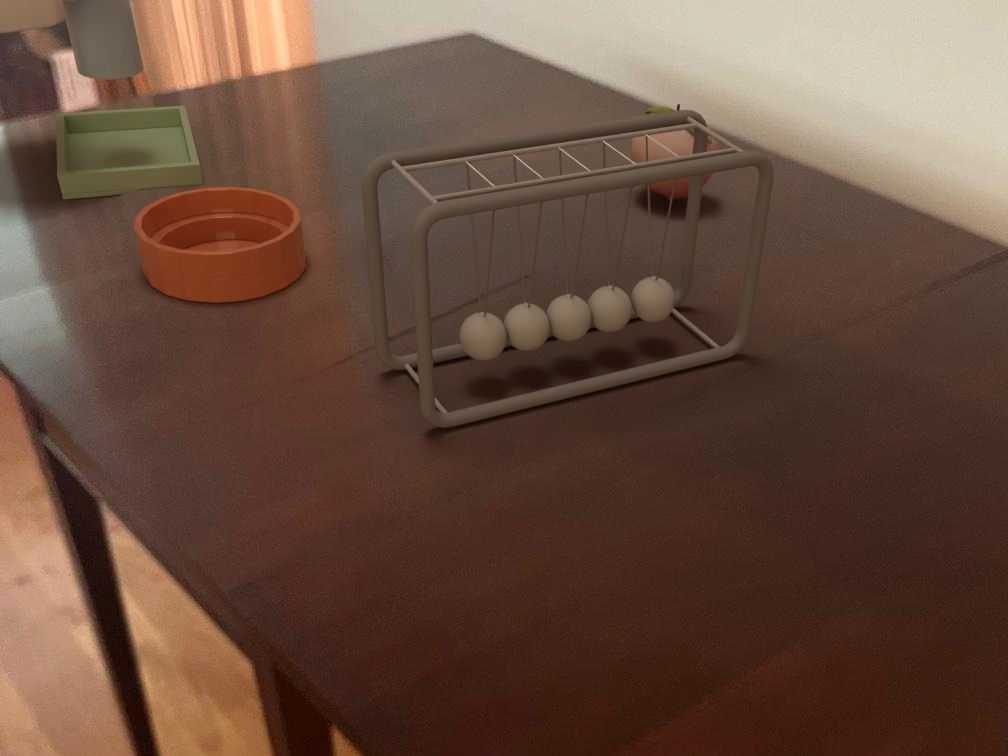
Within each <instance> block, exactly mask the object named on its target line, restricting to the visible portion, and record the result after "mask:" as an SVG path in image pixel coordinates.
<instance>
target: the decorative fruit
mask: <svg viewBox="0 0 1008 756" xmlns="http://www.w3.org/2000/svg"><path fill="white" fill-rule="evenodd" d="M679 110H681V104H680V103H678V104H676V110H675V109H673V108H671V107H669V106H663V105H662V106H661V105H660V106H651V107H649V108H648V109H646V111H645V112H644V114H645V115H650V114H652V113H653V114H659V113H666V112H672V111H679ZM707 128H708V129H710V130H711V131H712V129H711V128H710V127H709V126H708V125H707ZM648 136H649V137H651V138H652V139H654V140H655V141H657V142H658V143H660V144H661V145H663V146H664V147H666V148H667V149H669V150H670V151H672V152H673V153H675V154H676V155H678V156H685V155H691V154H693V145H694V129H686V130H680V131H673V132H667V133H660V134H653V135H648ZM649 137H647V138H648V161H654V160H660V159H666V158H673V157H677V156H675V155H674V154H672V153H671V152H669V151H668V150H666V149H665V148H663V147H662V146H661V145H659V144H658V143H656V142H655V141H653V140H652V139H650V138H649ZM631 139H632V140H631V144H630V156H631V157H630V158H631V161H633V162H634V163H635V164H636V163H642V162H646V138H645V136H640V137H634V138H631ZM716 150H720V149H719V144H718V141H717V140H716V139H714V138H712V137H711V136H709V135H708V141H707V150H706V152H710V151H716ZM713 157H714V156H713ZM707 158H708V157H707ZM676 163H677V162H676ZM670 164H671V163H670ZM664 165H665V164H664ZM658 166H659V165H658ZM652 167H653V166H652ZM646 168H647V167H646ZM640 169H641V168H640ZM713 175H714V173H708V174H704V176H703V185H702V188H703V187H704V186H705V185H706V184H707V183H708V182H709V181H710V179H711V178H712V177H713ZM689 182H690V177H685V178H679V179H676V184H675V190H674V195H673V199H674V200H679V199H682V198H686V197H688V192H689ZM673 184H674V179H673V180H667V181H661V182H656V183H650V184H649V188H650V191H652V192H654V193H657V194H658V195H660V196H662V197H664V198H666V199H667V198H670V199H671V195H672V189H673ZM644 186H645V187H647V184H644Z"/></svg>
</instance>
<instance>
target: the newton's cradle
mask: <svg viewBox="0 0 1008 756" xmlns="http://www.w3.org/2000/svg"><path fill="white" fill-rule="evenodd" d="M707 126H708V125H707V122H706V119H705V118H704V117H703V116H702V115H701V113H699V112H698V111H695V110H693V109H680V110H679V111H677V110H675V111H672V112H666V113H659V114H657V113H653V114H652V113H651V114H645V115H638V116H630V117H625V118H618V119H611V120H604V121H597V122H590V123H589V122H588V123H583V124H575V125H569V126H562V127H561V126H560V127H554V128H547V129H540V130H534V131H527V132H521V133H512V134H505V135H499V136H492V137H491V136H490V137H485V138H478V139H471V140H464V141H457V142H449V143H443V144H437V145H429V146H423V147H422V146H421V147H415V148H409V149H402V150H395V151H389V152H386V153H383V154H379V155H378V156H377V157H375V158H374V159H372V160H371V162H369V164H367V165H368V166H366V168H365V170H364V172H363V175H362V178H361V197H362V209H363V222H364V235H365V245H366V257H367V268H368V269H367V270H368V271H367V272H368V282H369V294H370V306H371V316H372V317H371V318H372V327H373V330H372V331H373V342H374V350H375V353H376V357H377V358H378V360H379V362H380V363H381V364H382V365H383V366H385V367H386V368H388V369H392V370H395V371H405V370H406V371H407V372H408V373H409V375H410V376H411V377H412V379H414V381H415V382H416V384H418V395H419V397H418V398H419V407H420V411H421V415H422V416H423V418H424V419H425V420H426V422H428V423H429V424H431V425H432V426H434V427H438V428H441V429H442V428H443V429H445V428H453V427H458V426H462V425H467V424H470V423H473V422H477V421H478V422H479V421H482V420H485V419H489V418H494V417H497V416H502V415H506V414H511V413H514V412H517V411H523V410H527V409H530V408H534V407H537V406H543V405H546V404H550V403H555V402H558V401H562V400H566V399H571V398H575V397H578V396H583V395H586V394H590V393H594V392H598V391H602V390H606V389H610V388H614V387H619V386H623V385H627V384H630V383H634V382H639V381H643V380H647V379H651V378H655V377H660V376H662V375H668V374H672V373H675V372H680V371H684V370H687V369H692V368H696V367H699V366H703V365H708V364H712V363H717V362H719V361H723V360H728V359H729V358H732V357H733V356H735V355H736V354H737V353H739V352H740V350H741V349H742V348H743V347H744V346H745V345H746V343H747V341H748V339H749V336H750V332H751V327H752V320H753V314H754V309H755V308H754V307H755V299H756V294H757V288H758V281H759V274H760V269H761V261H762V257H763V249H764V242H765V236H766V229H767V223H768V217H769V209H770V203H771V197H772V191H773V183H774V174H775V173H774V171H775V170H774V166H773V163H772V160H771V159H770V158H769V156H767V154H766V153H764V152H762V151H759V150H743V149H742V148H740V147H738V146H737V145H736V144H734V143H732V142H731V141H729V140H727V139H726V138H724V137H723V136H721V135H719V134H718V133H716V132H714V131H713V130H712V129H711V128H710V129H711V130H710V129H708V128H707ZM686 129H694V145H693V154H691V155H685V156H678V155H676V154H675V153H673V152H672V151H670V150H669V149H667V148H666V147H664V146H663V145H661V144H660V143H658V142H657V141H655V140H654V139H652V138H651V137H649V136H648V135H653V134H660V133H667V132H673V131H680V130H686ZM708 135H709V136H711V137H712V138H714V139H716V140H717V142H719V143H720V144H722V146H725V147H727V148H723V149H719V150H716V151H710V152H706V150H707V141H708ZM640 136H645V138H646V162H642V163H636V164H635V163H634V162H633V161H632V159H630V158H629V157H627V156H626V155H624V154H623V153H622V152H620V151H619V150H617V149H616V148H614V147H613V146H612V145H610V144H609V143H608V142H614V141H619V140H627V139H633V138H634V137H640ZM647 137H649V138H650V139H652V140H653V141H655V142H656V143H658V144H659V145H661V146H662V147H663V148H665V149H666V150H668V151H669V152H671V153H672V154H674V155H675V156H677V157H673V158H666V159H660V160H654V161H648V138H647ZM600 143H602V161H603V163H602V164H603V168H599V169H593V170H590V169H589V168H587V167H586V166H585V165H584V164H582V162H581V163H580V162H579V161H578V160H577V159H576V158H574V157H573V156H571V155H570V154H569V153H568V152H566V151H565V150H564V149H567V148H573V147H581V146H587V145H592V144H593V145H594V144H600ZM606 145H607V146H608V147H609V148H610V149H612V150H614V151H615V152H616V153H617V154H619V155H621V156H622V157H623V158H625V159H626V160H628V161H629V162H630V164H624V165H618V166H612V167H611V166H610V167H606V165H607V164H606ZM554 150H558V163H559V175H555V176H550V177H543V176H542V175H540V174H539V173H538V172H537V171H535V170H534V169H533V168H532V167H530V165H527V164H526V163H525V162H524V161H523V160H522V159H520V158H519V157H518V156H521V155H528V154H534V153H540V152H548V151H554ZM562 152H563V153H564V154H565V155H566V156H568V157H569V158H570V159H571V160H573V161H574V162H576V163H577V164H578V165H579V166H581V167H582V168H584V169H585V170H586V171H581V172H575V173H567V174H563V167H562V164H563V163H562ZM713 156H714V157H713ZM508 157H512V161H513V174H514V175H513V176H514V177H513V178H514V182H512V183H507V184H501V185H495V184H493V182H491V181H490V180H489V179H487V178H486V177H485V176H484V175H483V174H482V173H481V172H479V171H478V170H477V169H476V168H475V167H474V166H473V165H471V164H470V163H474V162H481V161H488V160H494V159H501V158H508ZM707 157H708V158H707ZM516 159H517V160H518V161H519V162H521V164H523V165H524V166H525V167H526V168H528V169H529V170H530V171H532V172H533V173H534V174H535V175H537V176H538V177H539V178H537V179H531V180H524V181H519V182H518V177H517V176H518V175H517V165H516V164H517V163H516ZM676 162H677V163H676ZM670 163H671V164H670ZM461 164H465V168H466V169H465V171H466V179H467V190H463V191H457V192H449V193H445V194H439V195H431V194H430V193H429V192H428V191H427V189H425V188H424V187H423V186H422V185H421V184H420V183H419V182H418V181H417V180H416V179H415V178H414V177H413V176H412V175H411V174H409V172H416V171H422V170H429V169H434V168H441V167H449V166H455V165H461ZM664 164H665V165H664ZM658 165H659V166H658ZM652 166H653V167H652ZM469 167H470V168H471V169H473V171H475V172H476V173H477V174H478V175H479V176H481V178H483V179H484V180H485V182H487V183H489V185H491V186H488V187H487V186H486V187H483V188H475V189H471V181H470V169H469ZM646 167H647V168H646ZM749 167H755V168H756V169H757V171H758V180H757V181H758V182H757V189H756V197H755V201H754V210H753V216H752V221H751V222H752V223H751V230H750V236H749V244H748V250H747V257H746V262H745V263H746V264H745V270H744V277H743V285H742V292H741V298H740V305H739V311H738V312H739V313H738V319H737V325H736V331H735V334H734V335H733V337H732V339H731V340H730V341H729V342H727V343H726V344H724V345H722V346H720V345H718V343H716V342H715V341H714V340H713V339H711V338H710V337H709V336H708V335H707V334H705V333H704V332H703V331H702V330H701V329H700V328H698V327H697V326H696V325H695V324H693V323H692V322H691V321H690V320H689V319H687V317H685V316H684V315H682V313H680V312H679V311H678V310H676V308H677V307H679V306H680V305H681V304H682V303H684V301H685V300H686V298H687V297H688V295H689V294H690V290H691V286H692V281H693V271H694V263H695V255H696V254H695V253H696V245H697V236H698V227H699V219H700V210H701V201H702V193H703V192H702V191H703V187H702V185H703V176H704V174H708V173H713V174H714V173H720V172H725V171H731V170H732V171H733V170H736V169H743V168H749ZM640 168H641V169H640ZM393 169H395V170H396V171H397V172H398V173H399V174H400V175H401V176H402V177H403V178H404V179H405V180H406V181H407V182H408V183H409V184H410V185H412V187H414V189H416V190H417V191H418V192H419V193H420V194H421V196H423V197H424V198H425V199H426V200H427V201H428V202H429V203H430V205H428V206H427V207H425V208H424V209H422V210H421V211H420V213H419V214H418V215H417V216H416V218H415V219H414V221H413V224H412V227H411V229H410V240H409V241H410V254H411V256H410V257H411V271H412V272H411V273H412V275H411V276H412V290H413V291H412V292H413V293H412V294H413V308H414V309H413V310H414V324H415V343H416V344H415V345H416V352H415V353H411V354H406V355H395V354H394V353H392V352H391V350H390V349H391V348H390V342H389V329H388V315H387V314H388V313H387V301H386V289H385V288H386V287H385V275H384V262H383V249H382V248H383V247H382V235H381V234H382V233H381V222H380V221H381V219H380V207H379V194H378V193H379V191H378V183H379V180H380V178H381V176H383V174H384V173H385V172H387V171H390V170H393ZM685 177H690V182H689V192H688V196H687V200H686V201H687V202H686V212H685V223H684V232H683V239H682V248H681V258H680V260H681V261H680V268H679V278H678V284H677V287H676V289H675V291H674V289H673V287H672V285H671V284H670V283H669V282H668V281H667V280H666V279H664V278H662V277H659V274H660V269H661V264H662V259H663V258H662V257H663V252H664V248H665V242H666V237H667V232H668V227H669V221H670V216H671V211H672V205H673V201H674V200H673V195H674V190H675V184H676V179H679V178H685ZM673 179H674V184H673V189H672V195H671V200H669V205H668V211H667V216H666V222H665V227H664V233H663V237H662V242H661V243H662V244H661V247H660V248H661V249H660V255H659V258H658V265H657V269H656V275H654V268H653V267H654V266H653V241H652V217H651V216H652V215H651V213H652V212H651V189H650V188H649V184H650V183H656V182H661V181H667V180H673ZM644 184H647V186H646V188H647V207H648V208H647V211H648V229H649V230H648V233H649V258H650V259H649V261H650V276H649V277H645V278H643V279H641V280H639V281H638V282H637V283H636V284H635V286H634V287H633V289H632V292H631V295H630V297H629V295H628V294H627V293H626V291H624V290H622V289H621V288H619V287H618V286H616V280H617V275H618V269H619V264H620V259H621V253H622V247H623V243H624V237H625V233H626V232H625V231H626V227H627V226H626V225H627V220H628V215H629V211H630V210H629V209H630V205H631V199H632V193H633V189H634V187H638V186H642V185H644ZM644 186H645V185H644ZM626 188H629V195H628V198H627V199H628V200H627V205H626V209H625V217H624V221H623V227H622V231H621V232H622V233H621V238H620V243H619V249H618V255H617V258H616V259H617V260H616V266H615V271H614V275H613V281H612V284H610V283H611V281H610V257H609V254H610V253H609V252H610V251H609V228H608V225H609V224H608V223H609V222H608V198H607V197H608V196H607V195H608V194H607V192H608V191H613V190H614V191H615V190H620V189H626ZM601 192H602V193H603V192H604V215H605V217H604V219H605V220H604V221H605V246H606V247H605V248H606V273H607V275H606V276H607V278H606V279H607V285H605V286H601V287H599V288H598V289H596V290H594V292H593V293H591V295H590V297H589V299H588V301H587V302H586V301H585V300H584V299H583V298H581V297H580V296H579V295H578V296H577V295H576V294H575V295H574V292H575V285H576V279H577V273H578V272H577V271H578V265H579V258H580V253H581V246H582V239H583V232H584V226H585V221H586V220H585V218H586V213H587V208H588V207H587V205H588V199H589V195H591V194H596V193H601ZM583 195H584V196H585V200H584V207H583V213H582V218H581V219H582V220H581V227H580V234H579V240H578V247H577V252H576V259H575V267H574V273H573V280H572V285H571V293H569V281H568V277H569V276H568V261H567V260H568V259H567V241H566V240H567V239H566V224H565V223H566V222H565V203H564V202H565V201H564V199H567V198H572V197H579V196H583ZM555 200H561V202H560V203H561V217H562V218H561V219H562V238H563V256H564V273H565V274H564V275H565V290H566V291H565V293H566V294H562V295H559V296H558V297H556V298H554V299H553V300H552V301H551V302H550V303H549V305H548V307H547V310H546V312H545V311H544V310H543V309H542V308H541V307H540V306H538V305H536V304H534V303H531V301H532V293H533V286H534V285H533V284H534V274H535V269H536V259H537V251H538V243H539V234H540V224H541V218H542V217H541V216H542V208H543V202H544V203H545V202H551V201H555ZM538 203H539V208H538V216H537V226H536V233H535V242H534V243H535V244H534V251H533V258H532V259H533V260H532V268H531V275H530V277H531V279H530V286H529V293H528V302H527V299H526V285H525V274H524V258H523V257H524V256H523V246H522V233H521V231H522V230H521V219H520V218H521V217H520V207H522V206H526V205H532V204H538ZM514 207H515V208H516V215H517V216H516V217H517V229H518V230H517V231H518V243H519V257H520V270H521V284H522V297H523V303H519V304H517V305H514V306H513V307H512V308H511V309H509V311H507V313H506V315H505V317H504V319H503V321H502V320H501V319H500V318H499V317H497V316H496V315H495V314H492V313H490V312H487V307H488V306H487V305H488V295H489V282H490V270H491V259H492V247H493V234H494V222H495V212H496V211H497V210H503V209H510V208H514ZM485 212H491V225H490V237H489V247H488V248H489V249H488V259H487V273H486V283H485V285H486V286H485V297H484V308H483V309H484V310H482V297H481V290H480V289H481V287H480V277H479V276H480V275H479V267H478V266H479V265H478V257H477V256H478V255H477V246H476V233H475V223H474V214H480V213H485ZM467 215H468V216H469V215H470V222H471V231H472V232H471V233H472V243H473V254H474V263H475V274H476V285H477V286H476V287H477V296H478V307H479V312H475V313H473V314H471V315H469V316H468V317H467V318H466V319H465V320H464V321H463V323H462V325H461V326H460V329H459V336H458V337H459V343H456V344H451V345H447V346H442V347H441V346H440V347H437V348H433V335H432V334H433V333H432V314H431V312H432V311H431V293H430V292H431V291H430V271H429V270H430V269H429V268H430V267H429V251H428V249H429V248H428V247H429V246H428V235H429V232H430V230H431V228H432V227H433V226H434V225H435V224H436V223H437V222H439V221H441V220H444V219H451V218H455V217H462V216H467ZM674 308H675V309H674ZM671 313H672V314H673V315H674V316H675V317H676V318H678V319H679V320H680V321H681V322H682V323H684V324H685V325H686V326H687V327H688V328H690V329H691V330H692V331H693V332H694V333H695V334H697V335H698V336H699V337H700V338H701V339H703V340H704V341H705V342H706V343H707V344H709V345H710V346H711V347H712V348H709V349H704V350H701V351H696V352H692V353H688V354H684V355H681V356H677V357H672V358H668V359H664V360H659V361H655V362H650V363H648V364H642V365H638V366H635V367H631V368H626V369H623V370H618V371H614V372H610V373H606V374H601V375H597V376H594V377H589V378H586V379H582V380H577V381H572V382H567V383H565V384H560V385H556V386H552V387H547V388H543V389H539V390H536V391H532V392H531V391H530V392H527V393H523V394H519V395H515V396H510V397H506V398H503V399H498V400H494V401H491V402H486V403H482V404H478V405H477V404H476V405H473V406H469V407H464V408H461V409H456V410H453V411H449V412H448V411H447V409H445V408H444V406H443V405H442V404H441V403H440V401H439V400H438V399H437V398H436V395H435V379H434V378H435V377H434V376H435V375H434V364H437V363H441V362H447V361H452V360H455V359H460V358H463V357H470V358H472V359H474V360H476V361H480V362H481V361H483V362H484V361H491V360H493V359H495V358H497V357H499V356H500V354H501V353H502V352H503V351H504V349H505V348H509V347H513V348H515V349H517V350H519V351H523V352H531V351H534V350H535V351H536V350H537V349H539V348H541V347H542V346H543V345H544V344H545V342H546V341H547V340H548V338H549V339H550V338H553V337H555V338H557V339H558V340H560V341H563V342H575V341H578V340H580V339H581V338H583V337H584V336H585V335H586V334H587V332H588V331H589V330H590V329H593V328H594V329H597V330H599V331H601V332H604V333H615V332H617V331H620V330H622V329H623V328H624V327H626V326H627V324H628V323H629V321H630V320H634V319H633V318H635V319H638V317H639V319H640V320H641V321H644V322H647V323H659V322H662V321H664V320H665V319H666V318H668V317H669V316H670V315H671ZM416 368H417V373H416V371H415V370H414V369H416Z"/></svg>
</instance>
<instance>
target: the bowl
mask: <svg viewBox="0 0 1008 756" xmlns="http://www.w3.org/2000/svg"><path fill="white" fill-rule="evenodd" d="M300 211H301V210H300V208H298V207H297V206H296V205H295V204H294V203H293V202H292V201H291V200H290V199H288V198H285V197H283V196H281V195H279V194H277V193H274V192H270V191H266V190H261V189H258V188H250V187H249V188H248V187H238V186H217V187H203V188H197V189H190V190H185V191H179V192H176V193H174V194H170V195H167V196H163V197H161V198H159V199H157V200H155V201H154V202H152V203H150V204H148V205H145V207H143V209H142V210H141V211H140V212H139V213H138V214H137V215H136V216H135V218H134V225H133V230H134V235H135V238H136V239H135V240H136V244H137V248H138V253H139V257H140V261H141V266H142V270H143V274H144V277H145V278H146V280H147V281H148V283H149V284H150V286H151V287H152V288H153V289H155V290H157V291H159V292H160V293H162V294H164V295H166V296H169V297H173V298H175V299H181V300H183V301H186V302H187V301H188V302H201V303H211V304H216V303H217V304H218V303H219V304H221V303H234V302H242V301H243V302H244V301H249V300H253V299H257V298H262V297H265V296H268V295H270V294H274V293H275V292H279V291H281V290H283V289H285V288H287V287H289V286H290V285H291V284H293V283H294V282H295V281H297V280H298V279H300V278H301V276H302V274H303V272H304V271H305V270H306V268H307V260H306V253H305V244H304V237H303V229H302V220H301V212H300Z"/></svg>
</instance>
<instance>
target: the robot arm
mask: <svg viewBox="0 0 1008 756" xmlns="http://www.w3.org/2000/svg"><path fill="white" fill-rule="evenodd" d="M71 1H76V0H0V34H11V33H16V32H24V31H33V30H38V29H39V30H40V29H44V28H45V29H46V28H50V27H53V26H57V25H59V24H61V23H63V22H66V15H65V10H64V5H63V2H71Z"/></svg>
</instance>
